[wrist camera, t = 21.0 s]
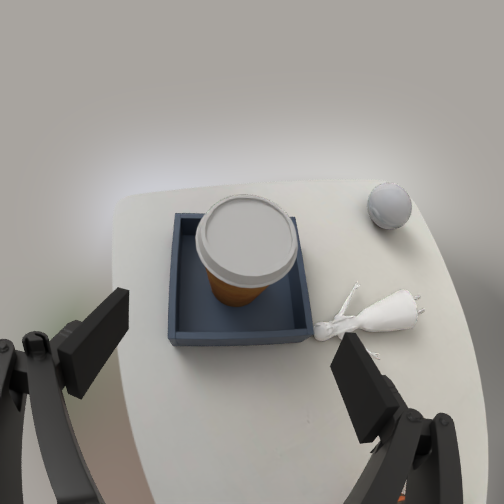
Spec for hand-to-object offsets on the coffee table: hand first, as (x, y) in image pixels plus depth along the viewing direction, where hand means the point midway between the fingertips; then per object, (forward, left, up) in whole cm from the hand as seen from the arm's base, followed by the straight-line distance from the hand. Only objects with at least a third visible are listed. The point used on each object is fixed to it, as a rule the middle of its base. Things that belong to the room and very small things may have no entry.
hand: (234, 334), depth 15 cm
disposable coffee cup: (+2, +10, -17) cm, 19 cm away
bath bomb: (+28, +22, -17) cm, 40 cm away
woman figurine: (+20, +4, -17) cm, 27 cm away
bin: (+2, +10, -17) cm, 20 cm away
